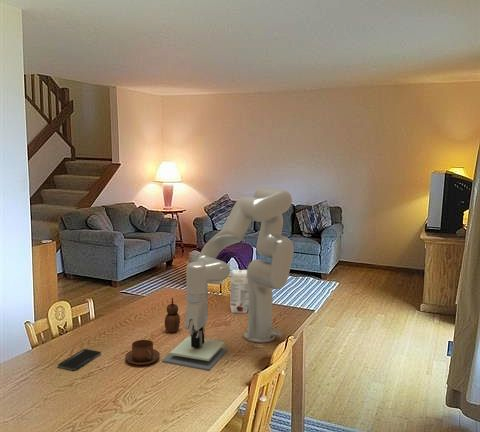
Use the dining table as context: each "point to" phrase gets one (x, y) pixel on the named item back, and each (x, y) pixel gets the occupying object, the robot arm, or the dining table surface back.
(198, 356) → the cover board
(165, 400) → the dining table surface
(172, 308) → the wooden figurine
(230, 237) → the robot arm
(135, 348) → the cup and saucer
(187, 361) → the rubber mat
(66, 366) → the phone
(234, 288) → the juice carton
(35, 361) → the dining table surface
